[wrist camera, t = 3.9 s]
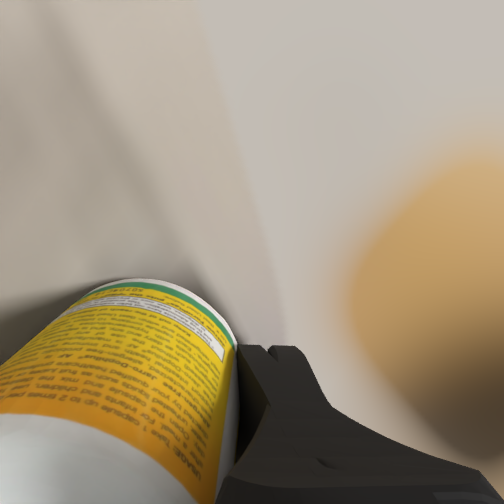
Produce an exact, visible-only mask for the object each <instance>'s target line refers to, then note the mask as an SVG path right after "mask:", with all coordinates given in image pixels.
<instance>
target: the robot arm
mask: <svg viewBox="0 0 504 504" xmlns="http://www.w3.org/2000/svg"><path fill="white" fill-rule="evenodd" d="M236 354H237V367H238V384H239V399H240V421H239V431H238V441H237V450H236V464H235V466H234V467H233V468H232V469H231V470H230V472H229V473H228V474H227V475H226V476H225V477H224V479H223V482H222V485H221V488H220V491H219V493H218V496H217V499H216V501H215V504H504V500H503V499H502V498H501V496H500V495H499V494H498V493H497V491H496V490H495V489H494V488H493V487H492V486H491V484H490V483H489V482H488V481H487V479H486V478H485V477H484V476H483V475H482V474H481V472H480V471H478V470H475V469H472V468H468V467H466V466H462V465H459V464H456V463H453V462H450V461H446V460H443V459H440V458H437V457H434V456H431V455H428V454H425V453H423V452H420V451H418V450H415V449H413V448H410V447H408V446H405V445H403V444H400V443H398V442H396V441H393V440H391V439H389V438H387V437H385V436H382V435H381V434H379V433H377V432H375V431H373V430H371V429H369V428H367V427H365V426H363V425H361V424H359V423H358V422H356V421H354V420H352V419H350V418H349V417H347V416H346V415H344V414H342V413H341V412H339V411H338V410H336V409H335V408H333V407H332V406H331V405H330V403H329V402H328V401H327V399H326V397H325V396H324V394H323V392H322V390H321V388H320V386H319V384H318V382H317V379H316V377H315V375H314V373H313V371H312V369H311V367H310V365H309V363H308V361H307V359H306V357H305V355H304V354H303V353H302V352H301V351H300V350H299V349H298V348H296V347H295V346H276V345H272V346H271V347H270V348H269V349H268V352H267V351H266V350H265V349H264V348H263V347H261V346H260V345H237V351H236Z"/></svg>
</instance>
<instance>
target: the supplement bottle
mask: <svg viewBox="0 0 504 504" xmlns="http://www.w3.org/2000/svg"><path fill="white" fill-rule="evenodd" d="M237 345H238V344H237V342H236V340H235V337H234V335H233V333H232V331H231V329H230V327H229V326H228V324H227V323H226V321H225V320H224V319H223V318H222V317H221V316H220V315H219V314H218V313H217V312H216V311H215V310H214V309H213V308H212V307H211V306H210V305H209V304H207V303H206V302H205V301H204V300H202V299H201V298H199V297H198V296H196V295H195V294H193V293H192V292H190V291H188V290H186V289H184V288H182V287H180V286H178V285H175V284H172V283H169V282H165V281H161V280H155V279H142V278H134V279H124V280H120V281H115V282H111V283H107V284H105V285H103V286H100V287H98V288H96V289H94V290H92V291H91V292H89V293H88V294H86V295H85V296H83V297H82V298H81V299H79V300H78V301H77V302H75V303H74V304H73V305H71V306H70V307H69V308H68V309H67V310H66V311H64V312H63V313H62V314H61V315H60V316H59V317H57V318H56V319H55V320H54V321H52V322H51V323H50V324H49V325H48V326H46V327H45V328H44V329H43V330H42V331H41V332H40V333H39V334H37V335H36V336H35V337H34V338H33V339H32V340H31V341H29V342H28V343H27V344H26V345H25V346H24V347H22V348H21V349H20V350H19V351H18V352H17V353H16V354H14V355H13V356H12V357H11V358H10V359H8V360H7V361H6V362H5V363H4V364H2V365H1V366H0V504H215V501H216V499H217V496H218V493H219V491H220V488H221V485H222V482H223V479H224V477H225V476H226V475H227V474H228V473H229V472H230V470H231V469H232V468H233V467H234V466H235V462H236V450H237V441H238V431H239V421H240V399H239V384H238V367H237V354H236V351H237Z"/></svg>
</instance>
